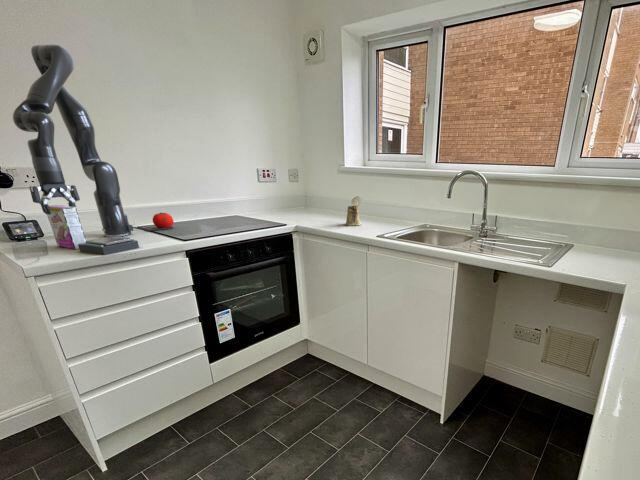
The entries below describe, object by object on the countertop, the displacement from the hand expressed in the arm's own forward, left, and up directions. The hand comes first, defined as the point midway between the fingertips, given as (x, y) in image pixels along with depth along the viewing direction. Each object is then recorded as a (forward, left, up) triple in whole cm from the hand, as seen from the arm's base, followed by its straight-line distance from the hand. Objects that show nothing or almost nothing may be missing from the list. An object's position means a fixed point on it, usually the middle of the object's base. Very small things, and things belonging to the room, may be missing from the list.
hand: (61, 213), depth 139 cm
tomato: (-47, -5, -14) cm, 49 cm away
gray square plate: (-4, +17, -10) cm, 21 cm away
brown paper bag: (-104, +80, -14) cm, 132 cm away
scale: (-3, +17, -14) cm, 22 cm away
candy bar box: (0, 0, -14) cm, 14 cm away
